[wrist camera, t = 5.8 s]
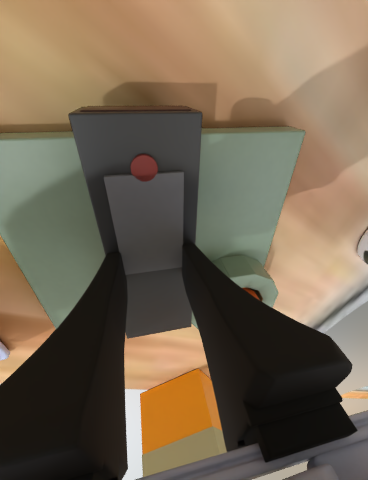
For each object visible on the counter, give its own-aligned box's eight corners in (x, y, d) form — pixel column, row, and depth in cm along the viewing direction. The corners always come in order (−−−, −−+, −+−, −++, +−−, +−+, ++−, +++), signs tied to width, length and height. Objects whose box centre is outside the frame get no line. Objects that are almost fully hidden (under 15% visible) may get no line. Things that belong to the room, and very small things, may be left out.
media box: (66, 323, 18) (55, 367, 15) (-34, 133, 10) (-100, 153, 7) (247, 293, 21) (265, 325, 18) (293, 126, 12) (341, 138, 10)
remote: (184, 299, 17) (192, 329, 15) (127, 309, 16) (127, 342, 14) (187, 105, 9) (204, 110, 7) (80, 105, 9) (65, 111, 7)
